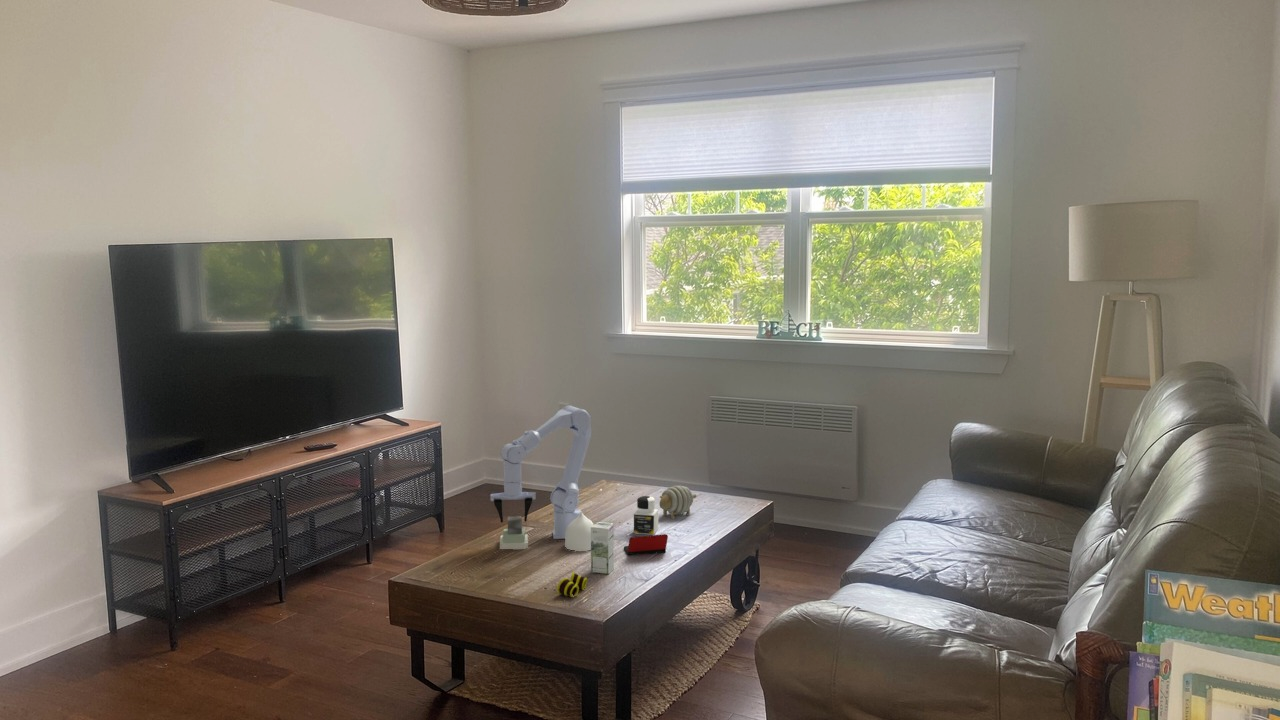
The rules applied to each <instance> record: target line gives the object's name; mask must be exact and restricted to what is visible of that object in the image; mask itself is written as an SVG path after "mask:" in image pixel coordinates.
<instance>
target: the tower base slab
mask: <svg viewBox="0 0 1280 720" xmlns="http://www.w3.org/2000/svg"><path fill="white" fill-rule="evenodd" d="M526 548H528V549H529V534H525V543H503V534H502V535H500V538H499V550H500V549H513V550H527V549H526Z"/></svg>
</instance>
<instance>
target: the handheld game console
mask: <svg viewBox="0 0 1280 720" xmlns="http://www.w3.org/2000/svg"><path fill="white" fill-rule="evenodd" d="M668 539H669V535H668V534H666V533H665V534H664V533H663V534H654V535H641V536H639V535H638V536H631V537H630V538H629V540H628V545H625V546H623V550H624V551H625V553H626V554H627V556H630V557H632V556H643V555H648V554H649V555H654V554H655V555H656V554H665V553H666V552H667V543H668Z"/></svg>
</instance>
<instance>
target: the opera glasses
mask: <svg viewBox="0 0 1280 720" xmlns="http://www.w3.org/2000/svg"><path fill="white" fill-rule="evenodd" d="M587 584H588V578H587V577H584V576H582V575H580V574H577V573H576V571H572V573H571V576H570V578H568V577H564V578H563V579H561V580H560V581H559V582H558V584H557V586H556V592H557V593H558V595H560V594H563V595H564V596H566V597H571V598H572V597H573V596H575V595H576V596H578V593H579V590H582V591H584V590H585V589H586V586H587ZM584 588H585V589H584ZM572 594H573V596H572ZM568 595H569V596H568ZM576 596H575V597H576ZM573 598H574V597H573Z"/></svg>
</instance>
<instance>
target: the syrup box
mask: <svg viewBox="0 0 1280 720" xmlns="http://www.w3.org/2000/svg"><path fill="white" fill-rule="evenodd" d="M614 525H615V524H614V523H613V522H603V521H602V522H601V521H600V522H599V521H595V522H594V523H593V525H592V526H591V551H590V570H591V571H590V573H591V574H599V573H600V574H601V575H602V574H603V575H610V573H611V572H612V571H613V570H614V568H615V558H614V557H615V556H614V555H615V554H614V553H615V552H614V551H615V550H614V547H615V546H614V542H615V539H614V537H615V536H614V534H615V532H614V531H615V528H614V527H615V526H614Z"/></svg>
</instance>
